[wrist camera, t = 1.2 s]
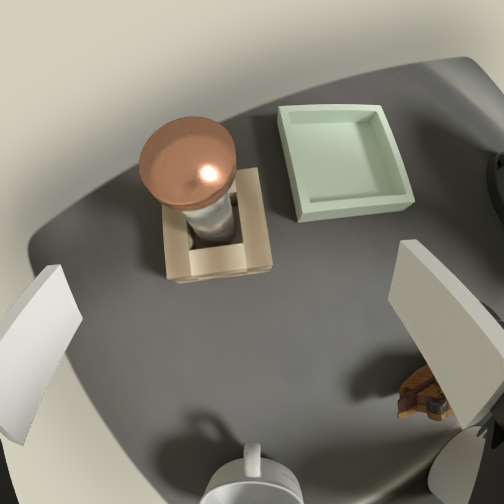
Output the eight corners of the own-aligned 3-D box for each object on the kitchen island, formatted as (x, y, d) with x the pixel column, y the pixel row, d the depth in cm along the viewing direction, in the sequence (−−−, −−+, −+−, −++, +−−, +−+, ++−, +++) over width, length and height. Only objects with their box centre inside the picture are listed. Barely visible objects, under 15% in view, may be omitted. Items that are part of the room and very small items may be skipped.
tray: (372, 119, 36) (380, 105, 33) (402, 210, 33) (415, 201, 30) (276, 122, 36) (278, 106, 32) (297, 222, 33) (302, 213, 30)
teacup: (285, 512, 26) (291, 548, 18) (202, 501, 26) (192, 537, 18) (312, 429, 29) (328, 460, 21) (218, 416, 29) (208, 446, 21)
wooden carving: (470, 326, 31) (520, 326, 21) (476, 354, 30) (524, 359, 20) (375, 387, 29) (416, 411, 20) (383, 416, 29) (424, 446, 19)
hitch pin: (239, 203, 32) (229, 110, 16) (246, 252, 31) (241, 193, 15) (190, 210, 32) (140, 126, 16) (194, 259, 31) (139, 209, 15)
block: (256, 186, 34) (257, 167, 29) (269, 271, 32) (272, 264, 27) (172, 199, 34) (160, 182, 29) (179, 283, 32) (167, 278, 27)
